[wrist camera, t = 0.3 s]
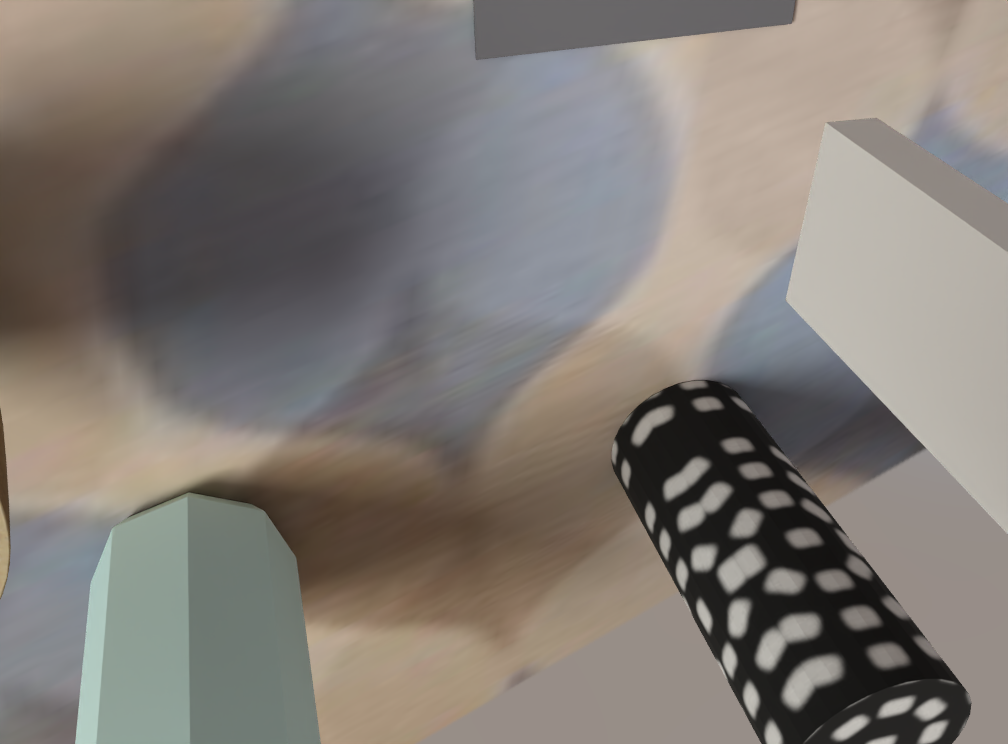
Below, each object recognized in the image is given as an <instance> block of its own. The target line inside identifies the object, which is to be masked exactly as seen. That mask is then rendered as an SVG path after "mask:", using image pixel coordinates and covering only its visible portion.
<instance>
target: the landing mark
mask: <svg viewBox="0 0 1008 744" xmlns="http://www.w3.org/2000/svg"><path fill="white" fill-rule="evenodd" d="M473 2H474V27H475V51H476V59H477V60H478V59H487V58H496V57H505V56H513V55H522V54H531V53H540V52H548V51H557V50H566V49H575V48H583V47H592V46H601V45H610V44H619V43H627V42H636V41H645V40H654V39H662V38H671V37H680V36H689V35H697V34H706V33H715V32H724V31H732V30H741V29H750V28H759V27H767V26H776V25H785V24H792V19H793V12H794V6H795V0H473Z"/></svg>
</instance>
